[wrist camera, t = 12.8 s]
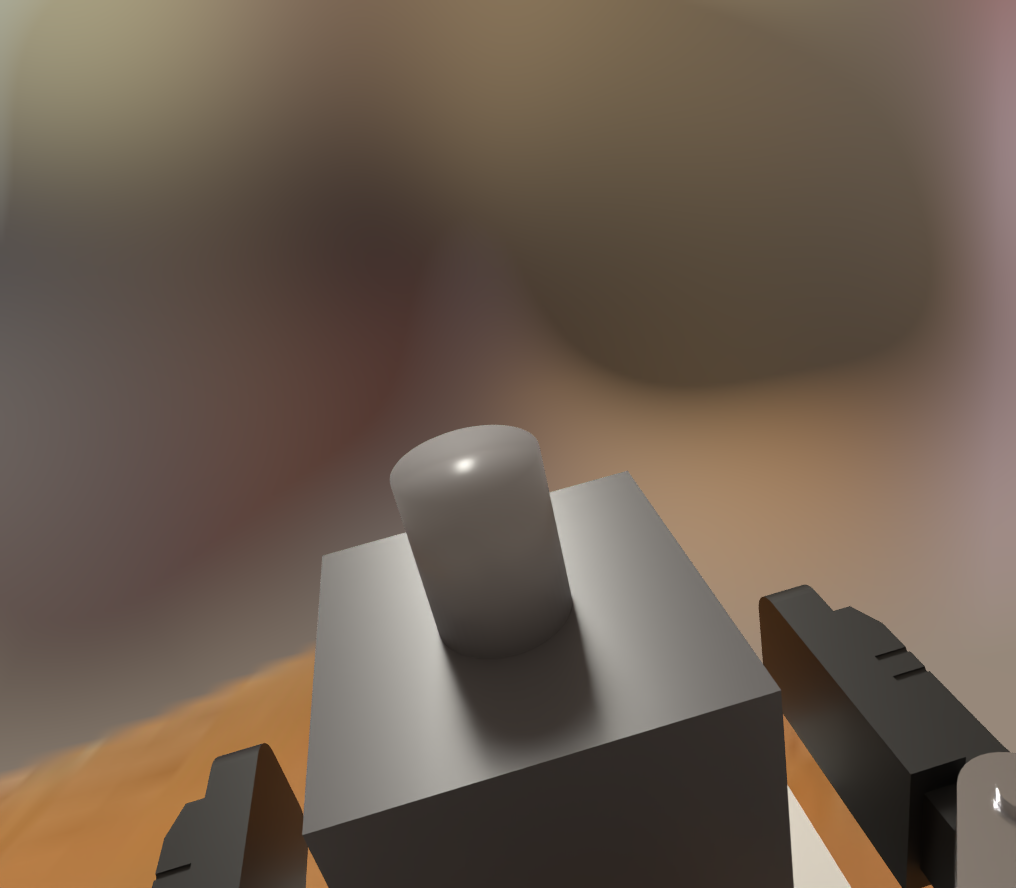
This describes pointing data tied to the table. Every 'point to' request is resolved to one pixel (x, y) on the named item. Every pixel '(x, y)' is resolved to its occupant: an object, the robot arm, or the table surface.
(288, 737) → the table surface
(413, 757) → the plug
